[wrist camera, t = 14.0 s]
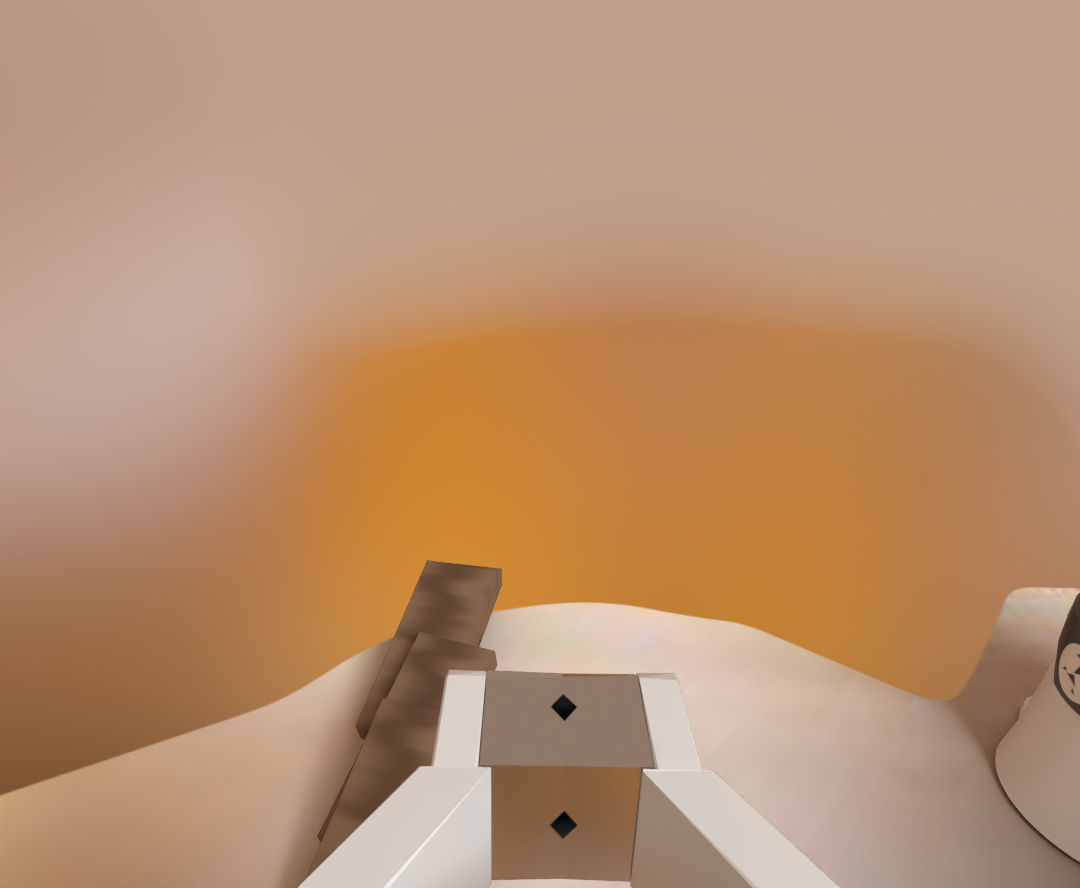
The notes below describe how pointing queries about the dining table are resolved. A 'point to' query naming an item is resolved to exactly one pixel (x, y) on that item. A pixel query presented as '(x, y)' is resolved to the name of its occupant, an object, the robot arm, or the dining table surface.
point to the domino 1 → (381, 767)
